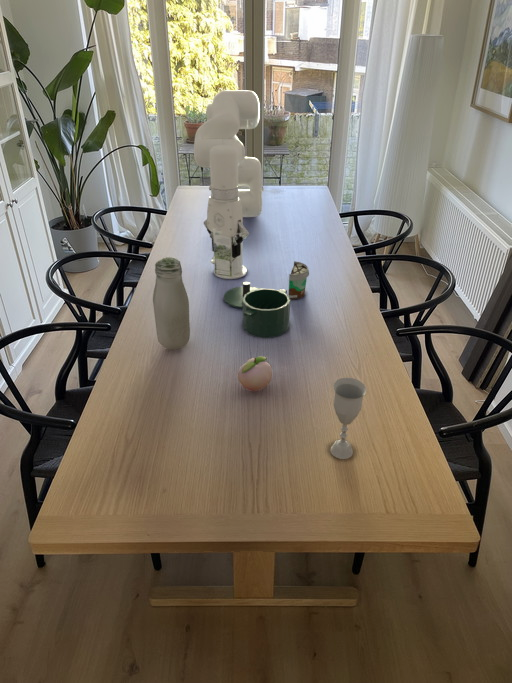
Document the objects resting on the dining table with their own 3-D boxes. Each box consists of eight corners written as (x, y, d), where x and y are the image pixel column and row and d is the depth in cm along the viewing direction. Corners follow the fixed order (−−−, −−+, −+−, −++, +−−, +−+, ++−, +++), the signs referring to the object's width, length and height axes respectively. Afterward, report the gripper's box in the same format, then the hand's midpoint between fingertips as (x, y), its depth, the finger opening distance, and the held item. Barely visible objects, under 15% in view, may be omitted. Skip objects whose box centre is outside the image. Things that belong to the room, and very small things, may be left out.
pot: (228, 331, 161) (227, 304, 156) (265, 307, 175) (265, 281, 170) (266, 346, 154) (267, 319, 149) (301, 319, 168) (303, 293, 163)
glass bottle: (164, 358, 148) (155, 269, 133) (153, 342, 156) (143, 255, 141) (196, 350, 152) (191, 262, 137) (184, 334, 160) (177, 249, 145)
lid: (214, 301, 178) (213, 285, 175) (241, 285, 189) (241, 269, 186) (251, 314, 171) (251, 298, 167) (277, 297, 181) (278, 281, 178)
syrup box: (239, 269, 157) (238, 223, 149) (231, 277, 152) (230, 230, 144) (222, 267, 158) (220, 221, 151) (214, 274, 154) (212, 228, 146)
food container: (305, 303, 178) (307, 276, 172) (287, 301, 179) (289, 274, 173) (309, 287, 188) (311, 262, 183) (292, 286, 189) (294, 260, 184)
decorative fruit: (259, 404, 131) (260, 372, 126) (233, 393, 135) (232, 362, 129) (278, 385, 138) (279, 354, 132) (252, 375, 141) (252, 345, 136)
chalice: (323, 440, 120) (330, 378, 110) (352, 439, 121) (361, 376, 111) (330, 463, 114) (337, 399, 104) (360, 461, 114) (370, 398, 105)
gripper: (192, 190, 144) (195, 250, 154) (241, 202, 136) (241, 264, 145) (209, 184, 149) (212, 242, 159) (258, 195, 141) (257, 256, 150)
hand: (226, 252), depth 152 cm, fingers closed on syrup box, 6 cm apart
